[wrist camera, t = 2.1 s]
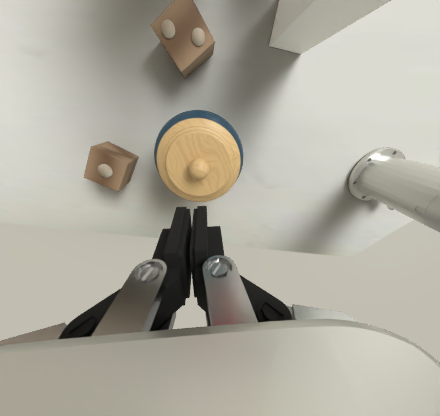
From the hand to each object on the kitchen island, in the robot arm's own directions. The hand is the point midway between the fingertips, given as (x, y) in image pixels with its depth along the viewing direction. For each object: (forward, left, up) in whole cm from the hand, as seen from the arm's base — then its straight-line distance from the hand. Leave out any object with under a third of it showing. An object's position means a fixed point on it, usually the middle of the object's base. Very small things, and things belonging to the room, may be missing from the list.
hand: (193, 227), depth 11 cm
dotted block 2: (+12, -10, -29) cm, 33 cm away
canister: (0, 0, -29) cm, 29 cm away
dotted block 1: (+10, +14, -29) cm, 34 cm away
